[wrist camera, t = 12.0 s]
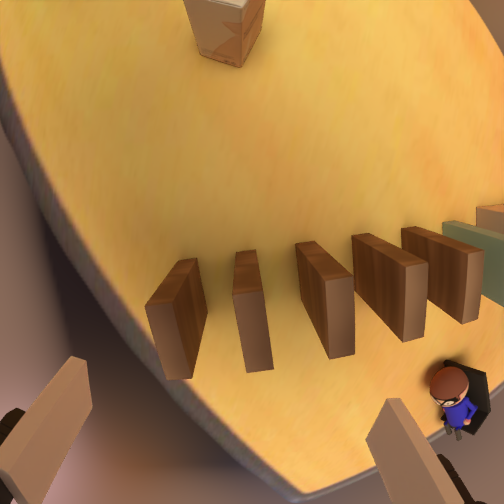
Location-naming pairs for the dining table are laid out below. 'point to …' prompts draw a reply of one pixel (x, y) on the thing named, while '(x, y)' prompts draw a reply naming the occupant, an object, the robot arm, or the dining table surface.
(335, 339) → the tile
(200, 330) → the tile
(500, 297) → the tile
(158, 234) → the dining table surface
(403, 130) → the dining table surface
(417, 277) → the tile
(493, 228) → the end block
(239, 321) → the tile
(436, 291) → the tile
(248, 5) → the box
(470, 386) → the character figurine
